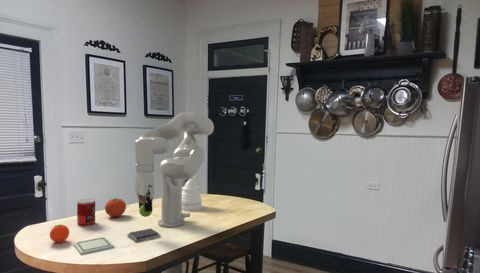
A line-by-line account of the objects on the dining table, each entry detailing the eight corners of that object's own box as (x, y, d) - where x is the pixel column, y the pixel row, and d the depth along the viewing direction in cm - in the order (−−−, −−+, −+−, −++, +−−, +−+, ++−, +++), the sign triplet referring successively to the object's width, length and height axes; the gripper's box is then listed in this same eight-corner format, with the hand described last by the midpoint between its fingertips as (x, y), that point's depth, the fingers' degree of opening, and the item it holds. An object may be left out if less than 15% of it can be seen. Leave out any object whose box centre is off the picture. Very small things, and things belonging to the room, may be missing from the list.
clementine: (43, 244, 128) (43, 227, 127) (53, 238, 135) (53, 221, 134) (63, 245, 128) (63, 227, 127) (72, 239, 135) (72, 222, 134)
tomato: (100, 218, 164) (100, 198, 164) (112, 213, 174) (113, 194, 174) (118, 220, 162) (118, 200, 161) (130, 214, 172) (130, 195, 171)
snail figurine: (138, 214, 142) (138, 187, 141) (153, 214, 143) (153, 187, 142) (135, 218, 137) (135, 190, 136) (151, 218, 137) (150, 190, 136)
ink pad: (151, 231, 146) (151, 227, 146) (160, 236, 139) (160, 233, 139) (127, 236, 139) (127, 232, 139) (135, 242, 132) (135, 238, 132)
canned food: (88, 226, 151) (88, 203, 150) (73, 225, 152) (73, 202, 152) (98, 221, 158) (98, 199, 158) (84, 220, 160) (84, 198, 159)
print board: (104, 238, 136) (104, 236, 136) (114, 247, 126) (114, 244, 126) (73, 244, 128) (73, 242, 128) (80, 254, 119) (80, 252, 119)
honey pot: (190, 204, 196) (190, 174, 196) (206, 207, 189) (206, 176, 188) (174, 208, 186) (174, 177, 185) (190, 212, 178) (190, 179, 178)
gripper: (128, 166, 142) (129, 206, 144) (144, 171, 129) (145, 216, 131) (145, 164, 147) (146, 203, 149) (161, 169, 134) (162, 212, 135)
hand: (145, 209), depth 140 cm, fingers closed on snail figurine, 5 cm apart
